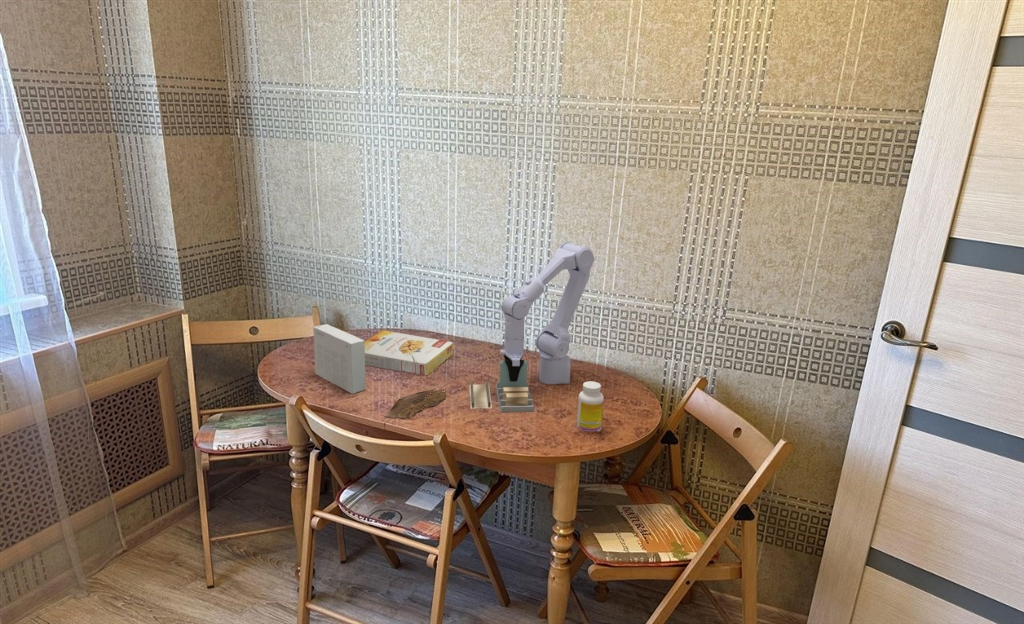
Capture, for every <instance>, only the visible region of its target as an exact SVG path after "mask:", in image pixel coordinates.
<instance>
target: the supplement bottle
mask: <svg viewBox="0 0 1024 624" xmlns="http://www.w3.org/2000/svg"><path fill="white" fill-rule="evenodd" d="M601 388H602V385H601V383H599V382H596V381H589V380H588V381H585V382H583V384H582V391H580V392H579V394H578V401H577V402H578V403H577V416H576V418H577V419H576V426H577V428H578V429H579V430H582V431H586V432H596V431H597V433H599V432H601V430H602V425H603V413H604V412H603V411H604V399H605V398H604V395H603V394H602V392H601V390H602V389H601Z"/></svg>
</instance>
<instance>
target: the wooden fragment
mask: <svg viewBox="0 0 1024 624" xmlns="http://www.w3.org/2000/svg"><path fill="white" fill-rule="evenodd" d="M445 389H446V390H445ZM445 389H443V390H439V391H437V390H436V388H433V389H429V390H423V391H420V392H416V393H413V394H410V395H409V394H408V395H407V396H402V397H401V398H398V400H396V402H395V403H394V404H393V406H391V408H390V409H389V410H388V412H387V413H386V414H385V415H384V418H386V419H392V420H398V419H397V418H400V419H399V420H406V419H405V418H409V420H410V419H412V418H413V417H414V416H415V415H416V414H417V413H420V412H422V411H423V410H425V409H427V407H428V408H432V407H436V406H437V405H439V404H440V402H441V401H444V400H446V398H447V387H446V388H445ZM434 390H436V391H434ZM444 390H445V392H442V391H444ZM430 393H431V394H430ZM427 395H428V396H427ZM425 397H426V398H425ZM424 408H425V409H424Z"/></svg>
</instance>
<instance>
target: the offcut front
mask: <svg viewBox="0 0 1024 624" xmlns="http://www.w3.org/2000/svg"><path fill="white" fill-rule="evenodd" d="M506 406H528V394H527V393H506Z"/></svg>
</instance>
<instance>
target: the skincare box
mask: <svg viewBox="0 0 1024 624" xmlns="http://www.w3.org/2000/svg"><path fill="white" fill-rule="evenodd" d="M312 328H313V348H314V349H313V351H314V352H313V353H314V355H313V356H314V372H315V373H314V374H315V375H316V376H317V377H320V378H322V379H324V380H325V381H328V382H329V383H331V384H333V385H335V386H337V387H339V388H341V389H342V390H344V391H346V392H348V393H350V394H352V395H354V394H356V393H359V392H362V391H365V390H367V388H366V385H367V384H366V365H365V343H364V342H365V340H364V339H362V338H360V337H358V336H355V335H353V334H351V333H348V332H346V331H344V330H341V329H339V328H337V327H334V326H332V325H330V324H328V323H326V324H321V325H316V326H313V327H312Z"/></svg>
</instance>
